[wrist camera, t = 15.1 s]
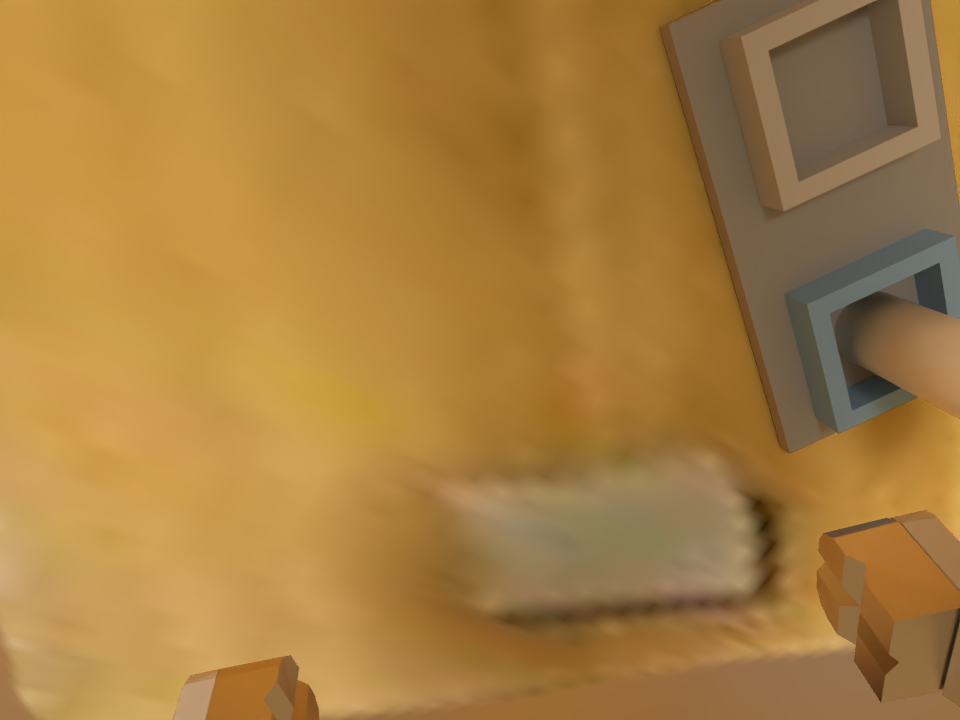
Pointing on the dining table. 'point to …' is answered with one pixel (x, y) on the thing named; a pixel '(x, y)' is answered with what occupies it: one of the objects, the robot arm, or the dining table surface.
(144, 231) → the dining table surface
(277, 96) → the dining table surface
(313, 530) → the dining table surface
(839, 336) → the knob-topped cream cylinder
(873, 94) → the lever base plate
